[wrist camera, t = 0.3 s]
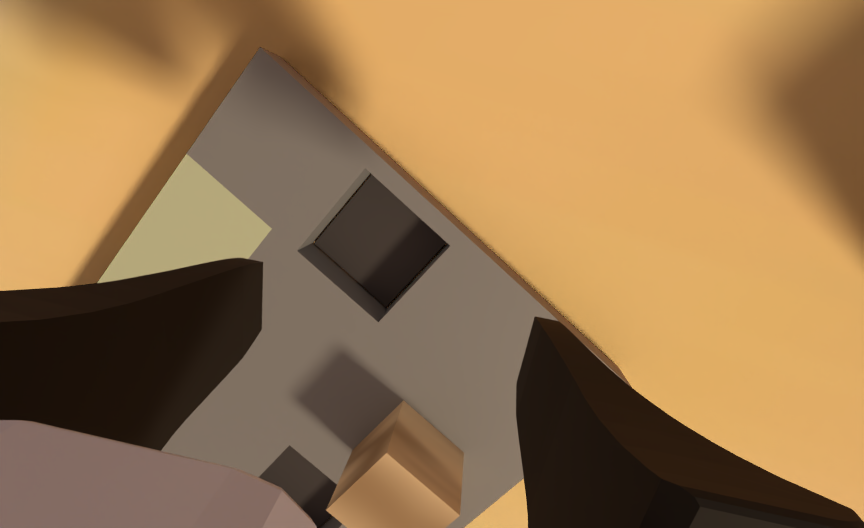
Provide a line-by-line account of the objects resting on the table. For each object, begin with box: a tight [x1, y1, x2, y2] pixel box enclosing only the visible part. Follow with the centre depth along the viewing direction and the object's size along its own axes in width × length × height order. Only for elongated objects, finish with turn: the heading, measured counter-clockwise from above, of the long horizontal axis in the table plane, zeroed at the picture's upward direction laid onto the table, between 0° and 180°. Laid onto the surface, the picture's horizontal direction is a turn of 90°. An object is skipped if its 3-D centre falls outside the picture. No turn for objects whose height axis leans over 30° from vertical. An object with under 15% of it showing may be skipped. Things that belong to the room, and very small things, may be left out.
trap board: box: [97, 47, 632, 528], centre depth 23 cm, size 20×22×2 cm
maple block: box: [326, 400, 464, 528], centre depth 20 cm, size 4×4×4 cm
